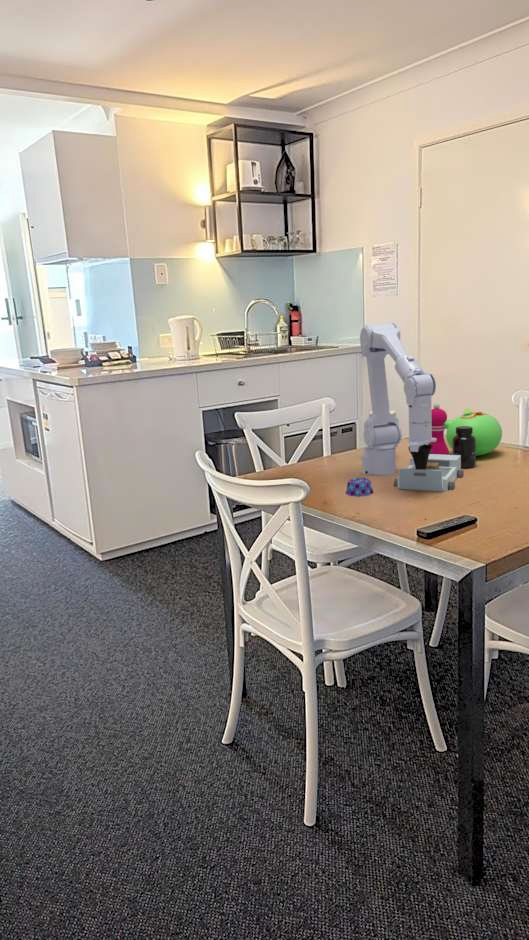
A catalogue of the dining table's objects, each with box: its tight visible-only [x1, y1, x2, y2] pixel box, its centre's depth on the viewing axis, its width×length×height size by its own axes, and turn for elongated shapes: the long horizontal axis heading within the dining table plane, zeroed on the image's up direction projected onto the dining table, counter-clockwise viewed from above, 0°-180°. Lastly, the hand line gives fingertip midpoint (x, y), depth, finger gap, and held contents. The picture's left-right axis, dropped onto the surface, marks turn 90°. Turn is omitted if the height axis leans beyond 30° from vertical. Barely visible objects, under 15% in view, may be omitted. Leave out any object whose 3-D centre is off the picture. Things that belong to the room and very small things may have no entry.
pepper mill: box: [427, 402, 450, 455], centre depth 199 cm, size 7×7×20 cm
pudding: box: [345, 477, 375, 498], centre depth 177 cm, size 12×12×5 cm
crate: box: [426, 462, 439, 470], centre depth 184 cm, size 4×4×4 cm
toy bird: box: [444, 407, 503, 457], centre depth 214 cm, size 18×17×15 cm
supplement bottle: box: [451, 426, 477, 469], centre depth 201 cm, size 7×7×12 cm
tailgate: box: [398, 467, 444, 493], centre depth 175 cm, size 11×6×1 cm
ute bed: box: [393, 454, 465, 492], centre depth 184 cm, size 16×19×6 cm
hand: (420, 472), depth 175 cm, fingers closed, pressing on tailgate
